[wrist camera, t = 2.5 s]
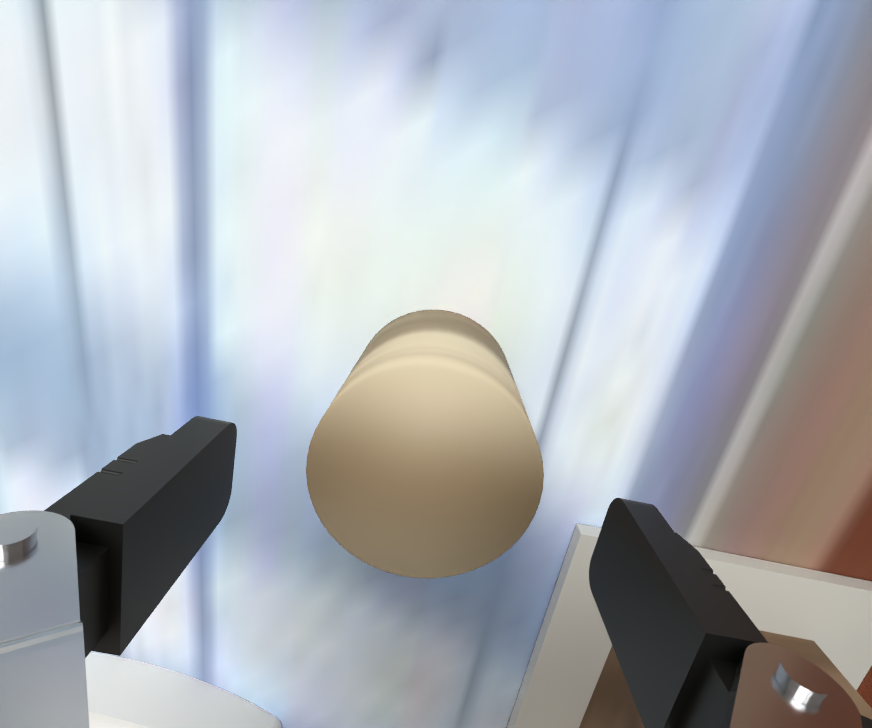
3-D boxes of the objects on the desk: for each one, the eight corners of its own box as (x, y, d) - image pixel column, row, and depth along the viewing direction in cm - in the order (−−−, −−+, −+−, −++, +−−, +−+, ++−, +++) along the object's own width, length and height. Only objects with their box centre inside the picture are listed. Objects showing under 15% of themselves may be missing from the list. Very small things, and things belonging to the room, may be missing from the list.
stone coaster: (576, 523, 17) (580, 533, 17) (897, 586, 18) (912, 598, 17) (496, 759, 21) (497, 774, 20) (765, 807, 21) (774, 824, 21)
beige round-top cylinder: (371, 294, 15) (323, 343, 10) (527, 327, 15) (573, 395, 10) (347, 437, 17) (292, 554, 11) (490, 466, 17) (510, 596, 11)
